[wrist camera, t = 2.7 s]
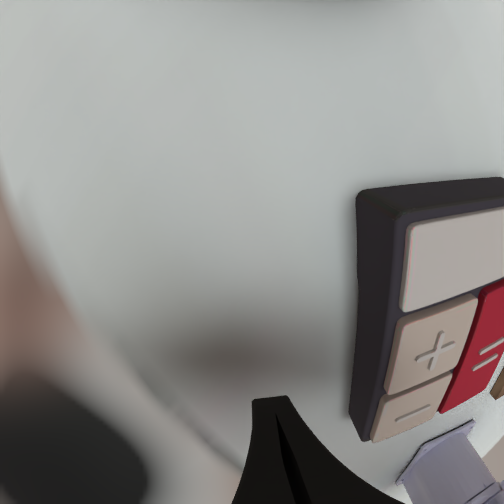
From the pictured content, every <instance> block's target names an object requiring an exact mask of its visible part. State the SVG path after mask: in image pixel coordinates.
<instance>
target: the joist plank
mask: <svg viewBox="0 0 504 504" xmlns="http://www.w3.org/2000/svg"><path fill="white" fill-rule="evenodd" d="M490 394H491V395H492V397H493V398H494V399H495V400H496V399H498V398H500V397H501V396H503V395H504V368H503V370H502V372H501V374H500V376H499V377H498V379H497V381H496V383H495V385H494V387H493V388H492V390H491V392H490Z"/></svg>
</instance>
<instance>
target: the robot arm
mask: <svg viewBox="0 0 504 504" xmlns="http://www.w3.org/2000/svg"><path fill="white" fill-rule="evenodd" d="M475 423H476V422H475V420H473V421H471V422H469V423H467V424H465V425H463V426H461V427H459V428H457V429H455V430H453V431H451V432H449V433H447V434H445V435H443V436H441V437H439V438H436V439H434V440H432V441H430V442H427V443H425V444H424V445H423V446H422V447H421V449H420V450H419V451H418V453H417V454H416V456H415V457H414V459H413V460H412V461H411V463H410V464H409V466H408V467H407V468H406V470H405V471H404V472H403V474H402V475H401V476H400V478H399V479H398V480H397V481H396V485H400V484H402V483H403V484H404V486H405V488H406V491H407V493H408V495H409V497H410V499H411V501H412V503H413V504H504V480H503V481H502V482H501V483H499V482H496V480H495V479H494V477H493V476H492V474H491V473H490V471H489V470H488V468H487V467H486V465H485V464H484V462H483V461H482V459H481V458H480V456H479V455H478V453H477V452H476V450H475V449H474V447H473V446H472V444H471V443H470V442H469V440H468V439H467V437H466V436H467V435H468V433H469V432H470V431H471V429H472V428H473V426H474V425H475ZM232 504H405V503H402V502H400V501H398V500H396V499H394V498H392V497H390V496H388V495H386V494H385V493H383V492H381V491H379V490H378V489H376V488H374V487H373V486H371V485H370V484H368V483H367V482H365V481H364V480H362V479H361V478H360V477H358V476H357V475H355V474H354V473H353V472H352V471H350V470H349V469H348V468H347V467H346V466H344V465H343V464H342V463H341V462H340V461H339V460H338V459H337V458H336V457H335V456H333V455H332V454H331V453H330V452H329V450H328V449H327V448H326V447H325V446H324V445H323V444H322V443H321V442H320V441H319V440H318V438H317V437H316V436H315V435H314V434H313V432H312V431H311V430H310V429H309V427H308V426H307V425H306V423H305V422H304V421H303V419H302V418H301V416H300V415H299V414H298V412H297V411H296V409H295V407H294V406H293V404H292V402H291V401H290V399H289V397H288V396H286V395H285V396H277V397H269V398H260V399H254V400H253V401H252V434H251V440H250V446H249V451H248V455H247V459H246V463H245V467H244V471H243V474H242V477H241V480H240V483H239V486H238V489H237V491H236V494H235V496H234V499H233V501H232Z"/></svg>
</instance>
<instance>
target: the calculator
mask: <svg viewBox="0 0 504 504" xmlns="http://www.w3.org/2000/svg"><path fill="white" fill-rule="evenodd" d="M356 221H357V277H358V283H359V288H360V293H359V310H358V324H357V336H356V347H355V357H354V366H353V376H352V386H351V395H350V404H349V415H350V417H351V419H352V422H353V424H354V426H355V428H356V431H357V433H358V435H359V437H360V439H361V441H363V442H365V441H369V440H371V441H372V443H376V442H379V441H382V440H384V439H387V438H389V437H392V436H394V435H397V434H399V433H402V432H404V431H406V430H409V429H411V428H413V427H415V426H418V425H420V424H422V423H424V422H426V421H428V420H430V419H432V418H433V416H434V415H435V413H436V412H437V411H439V413H440V414H442V413H444V412H446V411H448V410H450V409H452V408H454V407H456V406H457V405H459V404H461V403H463V402H465V401H466V400H468V399H470V398H472V397H473V396H475V395H477V394H478V393H480V392H482V391H483V390H484V389H485V388H486V386H487V385H488V383H489V381H490V379H491V377H492V375H493V373H494V371H495V369H496V367H497V365H498V363H499V360H500V358H501V356H502V354H503V352H504V178H501V177H491V178H476V179H463V180H450V181H439V182H428V183H418V184H408V185H399V186H390V187H381V188H372V189H366V190H362V191H360V192H359V193H358V195H357V197H356Z"/></svg>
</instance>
